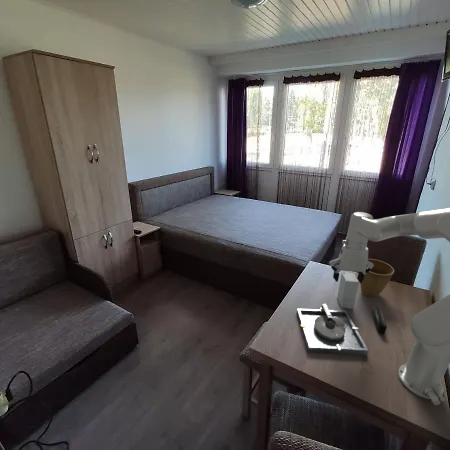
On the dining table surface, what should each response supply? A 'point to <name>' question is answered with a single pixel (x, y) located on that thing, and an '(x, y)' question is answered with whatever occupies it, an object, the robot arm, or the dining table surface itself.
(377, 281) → the plant pot
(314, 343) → the housing
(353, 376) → the dining table surface
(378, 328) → the green cucumber
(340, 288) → the skincare box
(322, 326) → the dial
